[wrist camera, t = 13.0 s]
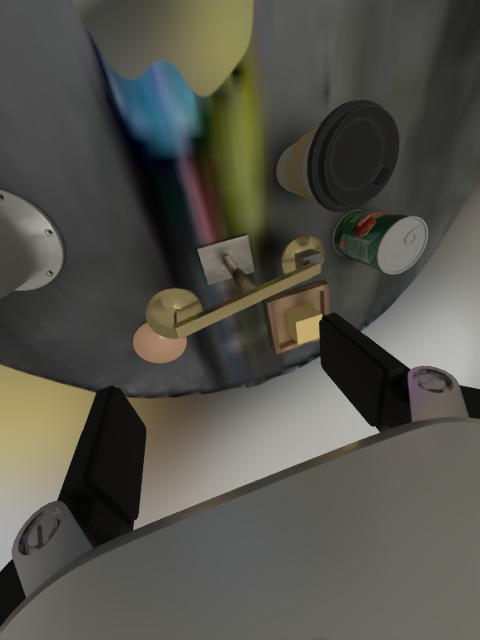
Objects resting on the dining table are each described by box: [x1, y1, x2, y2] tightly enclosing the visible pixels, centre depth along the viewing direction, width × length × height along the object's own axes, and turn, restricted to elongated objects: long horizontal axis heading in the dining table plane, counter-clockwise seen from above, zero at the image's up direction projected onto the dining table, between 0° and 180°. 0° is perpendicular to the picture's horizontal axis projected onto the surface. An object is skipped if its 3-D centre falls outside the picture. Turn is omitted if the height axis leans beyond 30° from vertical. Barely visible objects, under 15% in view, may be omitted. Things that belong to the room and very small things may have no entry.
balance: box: [146, 234, 324, 339], centre depth 32 cm, size 23×6×18 cm, turn 102°
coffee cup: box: [276, 100, 399, 212], centre depth 29 cm, size 9×9×15 cm
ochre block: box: [284, 303, 322, 345], centre depth 46 cm, size 5×5×5 cm
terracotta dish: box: [133, 322, 187, 363], centre depth 43 cm, size 9×9×1 cm
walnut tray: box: [264, 280, 329, 354], centre depth 48 cm, size 12×12×2 cm
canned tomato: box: [333, 210, 428, 274], centre depth 38 cm, size 8×8×11 cm
